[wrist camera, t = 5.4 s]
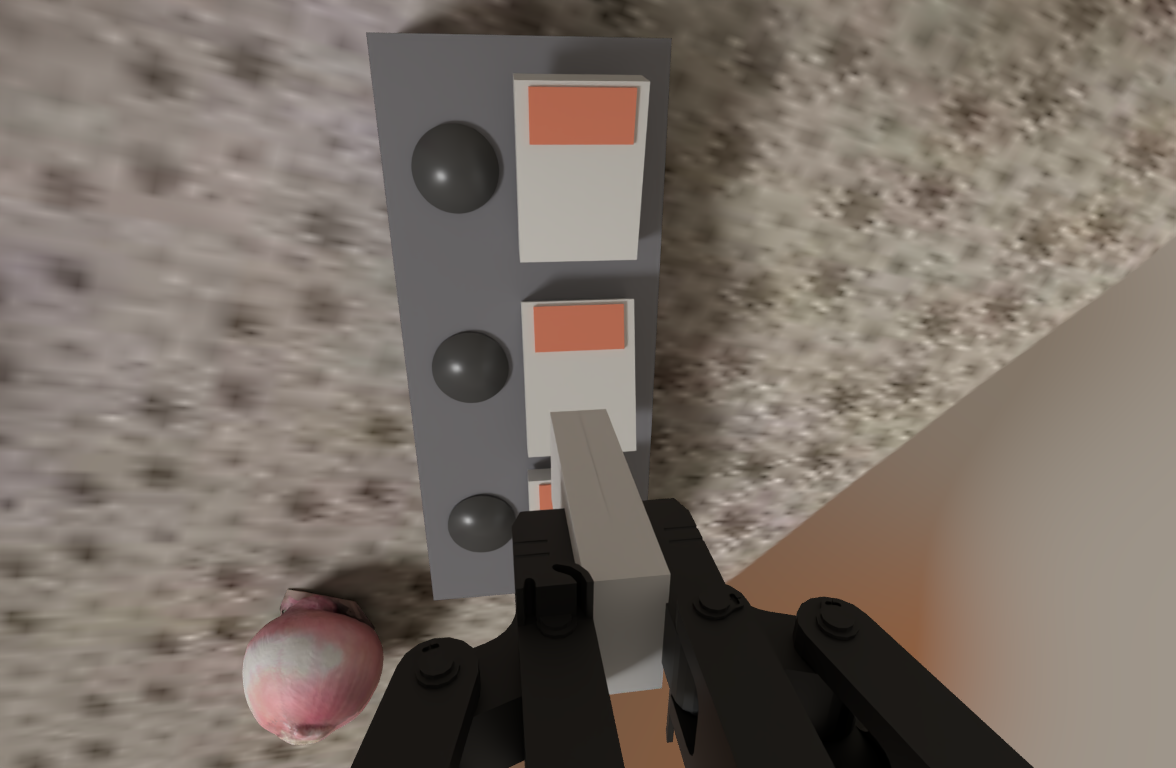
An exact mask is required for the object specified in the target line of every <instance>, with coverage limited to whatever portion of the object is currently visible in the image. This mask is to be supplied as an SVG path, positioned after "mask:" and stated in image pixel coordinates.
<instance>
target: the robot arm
mask: <svg viewBox="0 0 1176 768" xmlns="http://www.w3.org/2000/svg"><path fill="white" fill-rule="evenodd" d="M550 440H551V498H552V505H553V509H548V510H535V511H522V512H520V513H519V515H518V516H517V518H516V520H515V522H514V523H513V525H512V544H513V565H514V584H515V602H516V614H515V617H514V619H513V621H512V624H511V625H510V626H509V627H508V628H507V630H506V631H505V632H504V633H502V634H501V635H500V636H498V637H497V638H495V639H493V640H491V641H489V642H487V643H485V644H482V645H480V646H477V647H475V648H472V647H471V646H470V645H468V644H467V643H465V642H464V641H462V640H458V639H454V638H450V637H447V638H434V639H431V640H428V641H426V642H423V643H420V644H418V645H417V646H415V647H414V648H413V649H411V650H410V651H408V652H407V653H406V654H405V655H404V657H403V658H402V660H401V661H400V662H399V664H398V665H397V667H396V669H395V671H394V674H393V676H392V678H391V680H390V682H389V685H388V687H387V689H386V691H385V693H384V696H383V698H382V700H381V702H380V704H379V707H378V709H377V711H376V713H375V715H374V718H373V720H372V722H371V724H370V726H369V729H368V731H367V733H366V735H365V737H364V739H363V742H362V744H361V746H360V748H359V750H358V753H357V755H356V757H355V759H354V761H353V764H352V766H351V768H509V767H511V766H513V765H515V764H517V763H519V762H522V761H525V768H625V767H624V762H623V757H622V753H621V748H620V743H619V738H618V734H617V729H616V724H615V719H614V715H613V710H612V705H611V700H610V696H609V694H616V693H625V692H632V691H642V690H650V689H658V688H662V679H663V668H664V671H665V675H666V678H667V681H668V684H669V688H670V691H669V703H668V716H667V726H666V736H667V743H668V742H673V733H674V731H675V735H676V738H677V741H678V745H679V748H680V751H681V755H682V758H683V762H684V765H685V768H1033V767H1032V766H1031V765H1030V764H1029V763H1028V762H1027V761H1026V760H1025V759H1023V758H1022V756H1020V755H1019V754H1018V753H1017V752H1016V751H1015V750H1014V749H1013V748H1012V747H1010V746H1009V745H1008V744H1007V743H1006V742H1005V741H1004V740H1003V739H1002V738H1001V737H1000V736H999V735H997V734H996V733H995V732H994V731H993V730H992V729H991V728H990V727H989V726H988V725H987V724H986V723H985V722H983V721H982V720H981V719H980V718H979V717H978V716H977V715H976V714H975V713H974V712H972V711H971V710H970V709H969V708H968V707H967V706H966V705H965V704H964V703H963V702H962V701H960V700H959V699H958V698H957V697H956V696H955V695H954V694H953V693H952V692H951V691H949V689H947V688H946V687H945V686H944V685H943V684H942V683H941V682H940V681H939V680H937V678H936V677H934V676H933V675H932V674H931V673H930V672H929V671H928V670H927V669H926V668H925V667H923V666H922V665H921V664H920V663H919V662H918V661H917V660H916V659H915V658H914V657H912V655H910V654H909V653H908V652H907V651H906V650H905V649H904V648H903V647H902V646H901V645H899V644H898V643H897V642H896V641H895V640H894V639H893V638H892V637H891V636H890V635H889V634H888V633H886V632H885V631H884V630H883V629H882V628H881V627H880V626H879V625H878V624H877V623H876V622H874V621H873V620H872V619H871V618H870V617H869V616H868V615H867V614H866V613H864V612H863V611H861V610H860V609H859V608H857V607H856V606H854V605H853V604H850V603H848V602H845V601H843V600H840V599H836V598H829V597H818V598H811V599H809V600H807V601H806V602H804V603H802V604H801V606H800V608H799V610H798V611H797V615H796V616H795V615H788V614H781V613H775V612H768V611H764V610H760V609H757V608H754V607H752V606H751V605H750V604H749V602H748V601H747V599H746V598H745V597H744V596H743V594H742V593H740V592H739V591H737V590H736V589H734V588H733V587H731V586H729V585H726V584H725V582H724V580H723V578H722V576H721V574H720V572H719V570H718V568H717V566H716V564H715V562H714V560H713V558H712V556H711V554H710V552H709V550H708V548H707V546H706V544H705V542H704V541H703V540H702V536H701V534H700V532H699V530H698V528H696V524H695V522H694V520H693V518H692V516H691V514H690V512H689V510H688V509H686V508H685V507H684V506H683V505H681V504H680V503H679V502H678V501H676V500H675V499H674V498H671V499H658V500H645V501H642V500H641V497H640V495H639V492H638V490H637V487H636V485H635V482H634V479H633V477H632V474H631V472H630V469H629V467H628V464H627V462H626V459H625V456H624V454H623V451H622V449H621V446H620V444H619V441H618V438H617V436H616V433H615V431H614V428H613V426H612V423H611V421H610V418H609V415H608V413H607V410H606V409H596V410H579V411H561V412H550Z"/></svg>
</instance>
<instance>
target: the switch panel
mask: <svg viewBox="0 0 1176 768" xmlns="http://www.w3.org/2000/svg"><path fill="white" fill-rule="evenodd" d="M366 36H367V44H368V52H369V61H370V69H371V78H372V86H373V94H374V103H375V111H376V120H377V128H378V136H379V145H380V153H381V161H382V170H383V178H384V187H385V195H386V203H387V212H388V220H389V229H390V237H391V245H392V254H393V262H394V270H395V279H396V287H397V296H398V304H399V312H400V321H401V329H402V338H403V346H404V354H405V363H406V371H407V379H408V388H409V396H410V405H411V413H412V421H413V430H414V438H415V447H416V455H417V463H418V472H419V480H420V489H421V497H422V505H423V514H424V522H425V530H426V539H427V547H428V556H429V564H430V572H431V581H432V589H433V598H434V600H444V599H455V598H467V597H479V596H490V595H502V594H514V593H515V584H514V565H513V544H512V525H513V523H514V522H515V520H516V518H517V516H518V515H519V513H520V512H522V511H529V496H528V472H527V470H531V469H547V468H551V456H544V457H528V450H527V431H526V408H525V385H524V363H523V340H522V317H521V301H549V300H582V299H614V298H630V299H634V329H635V396H636V451H626V452H623V454H624V456H625V459H626V462H627V464H628V467H629V469H630V472H631V474H632V477H633V479H634V482H635V485H636V487H637V490H638V492H639V495H640V497H641V500H642V501H645V500H648V485H649V466H650V446H651V427H652V408H653V389H654V369H655V350H656V331H657V311H658V292H659V273H660V253H661V234H662V215H663V196H664V176H665V157H666V138H667V118H668V99H669V80H670V60H671V41H672V38H628V37H576V36H523V35H471V34H419V33H367V32H366ZM513 74H597V75H642V76H644V77H645V78H646V79H647V80H649V81H650V91H649V104H648V117H647V130H646V144H645V157H644V170H643V184H642V197H641V210H640V224H639V237H638V250H637V260H605V261H563V262H521V263H520V255H519V237H518V208H517V179H516V150H515V121H514V92H513Z"/></svg>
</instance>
